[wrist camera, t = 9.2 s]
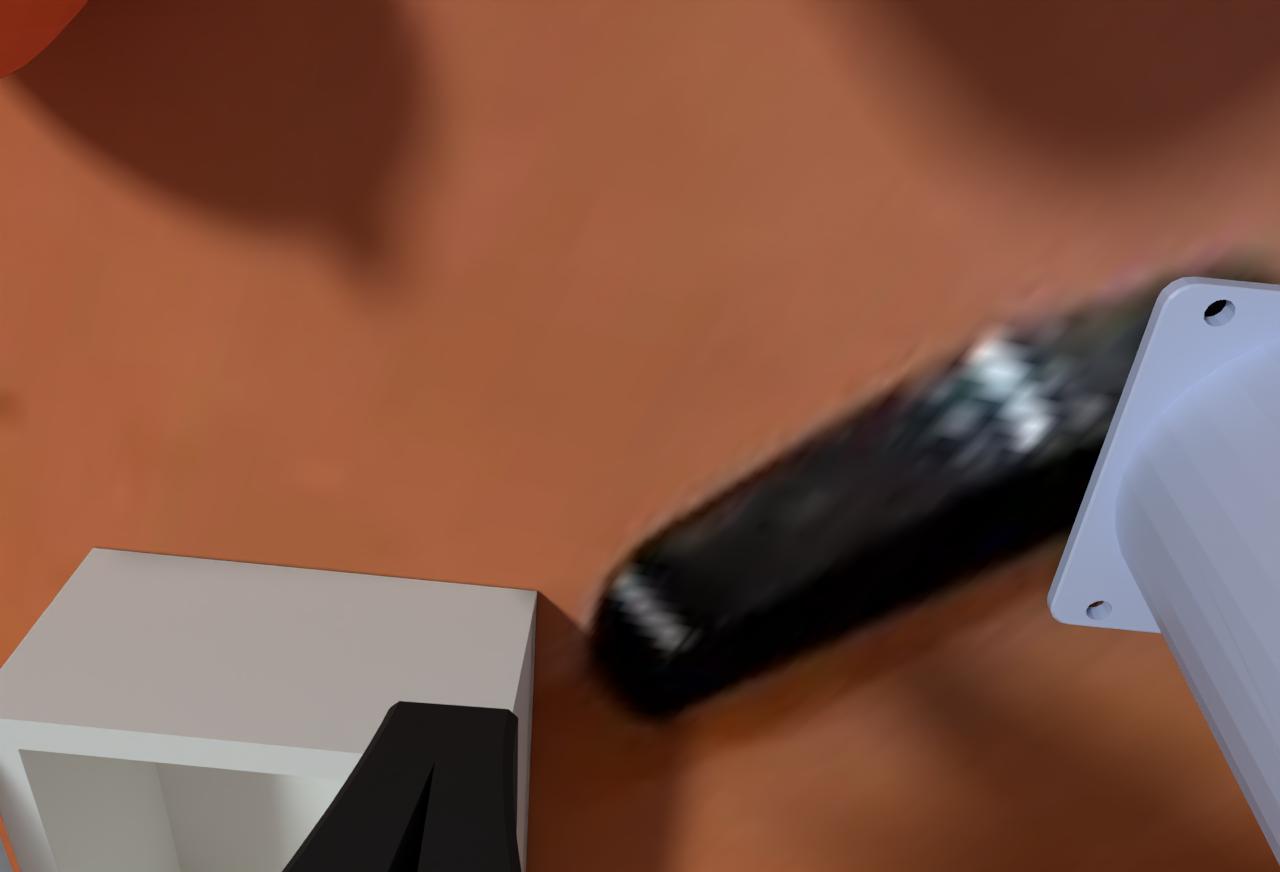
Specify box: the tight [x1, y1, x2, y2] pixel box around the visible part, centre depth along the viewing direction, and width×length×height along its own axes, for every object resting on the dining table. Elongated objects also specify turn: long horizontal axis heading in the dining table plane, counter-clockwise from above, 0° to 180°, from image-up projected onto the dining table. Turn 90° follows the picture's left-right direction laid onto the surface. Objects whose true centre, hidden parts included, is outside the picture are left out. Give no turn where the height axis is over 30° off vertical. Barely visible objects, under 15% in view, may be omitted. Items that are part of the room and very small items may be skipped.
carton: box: [0, 548, 537, 872], centre depth 26 cm, size 10×12×5 cm
